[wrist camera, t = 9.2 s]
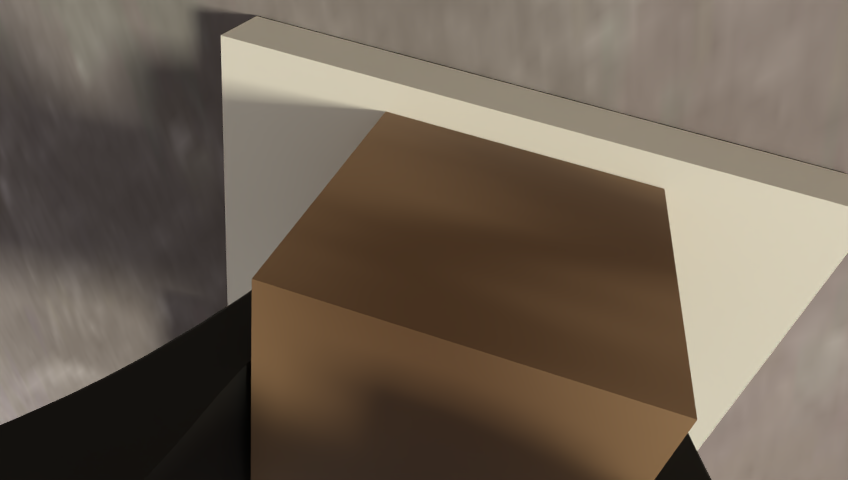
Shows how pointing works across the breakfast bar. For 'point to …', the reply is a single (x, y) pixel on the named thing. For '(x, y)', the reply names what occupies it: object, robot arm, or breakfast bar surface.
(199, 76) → the breakfast bar surface
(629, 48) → the breakfast bar surface
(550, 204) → the walnut block
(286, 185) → the trap channel
